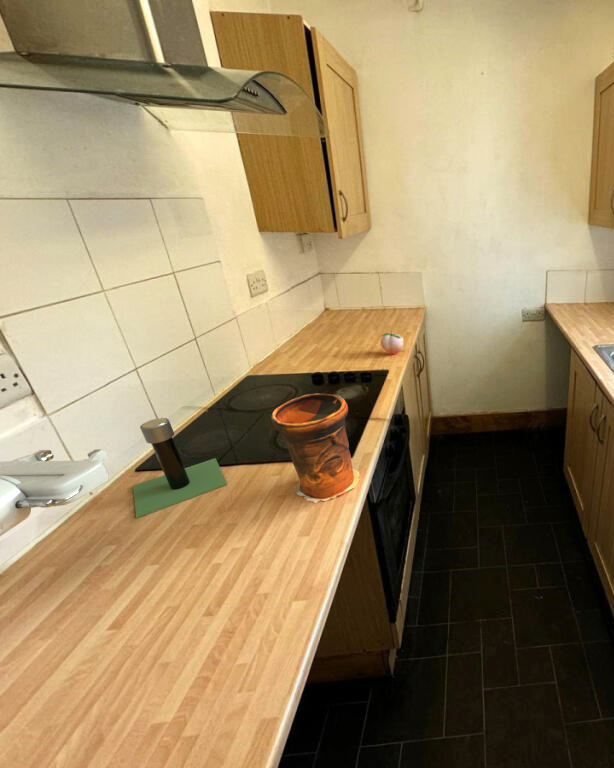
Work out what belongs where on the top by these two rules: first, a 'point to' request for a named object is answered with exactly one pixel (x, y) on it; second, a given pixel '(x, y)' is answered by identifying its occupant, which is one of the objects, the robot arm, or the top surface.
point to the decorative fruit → (392, 342)
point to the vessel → (317, 445)
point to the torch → (166, 451)
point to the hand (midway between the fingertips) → (75, 452)
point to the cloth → (161, 495)
